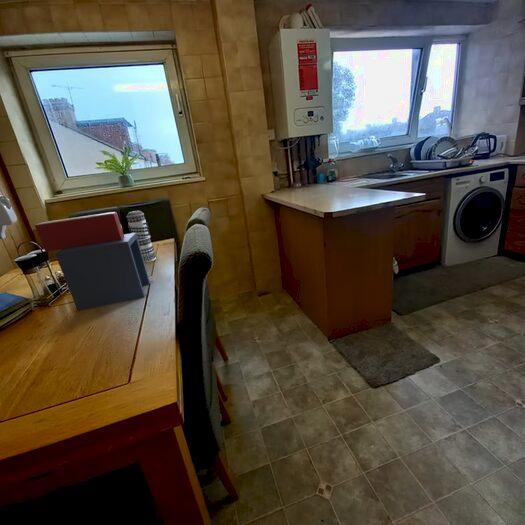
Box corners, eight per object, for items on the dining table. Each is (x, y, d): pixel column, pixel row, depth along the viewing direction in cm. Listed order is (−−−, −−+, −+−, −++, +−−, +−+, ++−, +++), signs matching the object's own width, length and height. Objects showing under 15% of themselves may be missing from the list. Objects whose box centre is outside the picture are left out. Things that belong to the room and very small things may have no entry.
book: (45, 252, 92) (34, 224, 89) (51, 248, 96) (40, 222, 92) (121, 239, 96) (113, 213, 93) (124, 237, 99) (116, 211, 96)
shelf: (77, 311, 95) (54, 253, 88) (91, 294, 108) (72, 242, 101) (144, 297, 99) (127, 241, 92) (150, 282, 112) (135, 232, 105)
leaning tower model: (150, 256, 148) (137, 209, 139) (160, 258, 142) (148, 209, 134) (134, 262, 141) (120, 213, 132) (144, 264, 135) (130, 213, 127)
